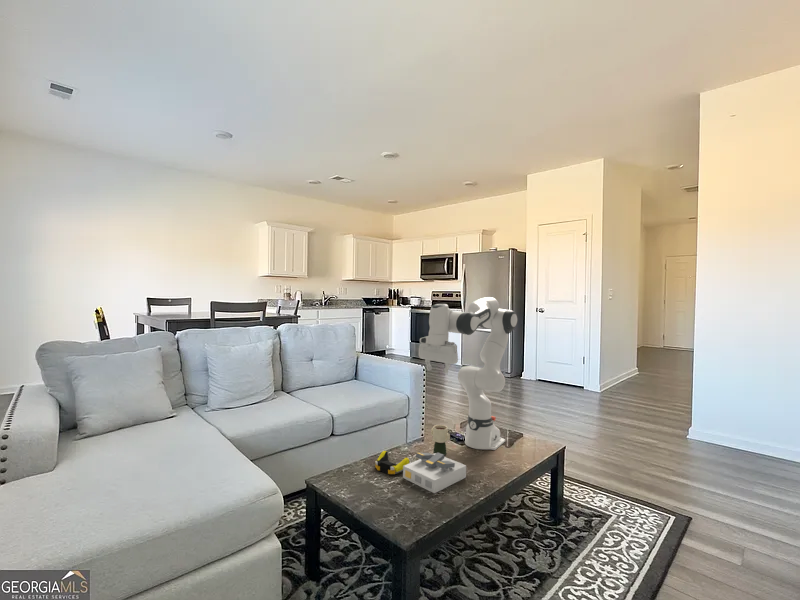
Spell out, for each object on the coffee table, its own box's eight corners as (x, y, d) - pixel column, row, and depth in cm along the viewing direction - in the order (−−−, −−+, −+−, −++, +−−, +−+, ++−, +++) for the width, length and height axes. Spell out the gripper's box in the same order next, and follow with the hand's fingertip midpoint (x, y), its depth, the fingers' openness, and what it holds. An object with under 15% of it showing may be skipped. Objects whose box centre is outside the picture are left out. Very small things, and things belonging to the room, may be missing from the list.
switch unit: (434, 464, 177) (435, 450, 177) (465, 477, 165) (466, 462, 165) (402, 478, 163) (402, 462, 163) (433, 493, 151) (434, 477, 151)
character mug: (453, 455, 187) (454, 428, 187) (444, 460, 182) (445, 431, 181) (435, 449, 194) (436, 422, 194) (426, 453, 189) (426, 426, 189)
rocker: (438, 455, 168) (437, 452, 168) (444, 458, 166) (444, 454, 165) (425, 465, 163) (425, 461, 162) (432, 468, 160) (431, 464, 160)
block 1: (427, 456, 172) (428, 452, 172) (433, 458, 169) (434, 454, 169) (415, 456, 166) (416, 452, 166) (421, 459, 164) (422, 455, 164)
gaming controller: (383, 461, 180) (369, 468, 171) (384, 449, 179) (369, 456, 171) (411, 470, 171) (397, 478, 163) (411, 457, 171) (397, 465, 163)
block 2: (447, 464, 164) (448, 460, 164) (454, 467, 161) (455, 463, 162) (435, 465, 158) (436, 461, 159) (442, 468, 156) (442, 463, 156)
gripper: (461, 342, 171) (460, 374, 171) (426, 337, 185) (425, 367, 185) (452, 343, 166) (451, 376, 166) (416, 338, 181) (415, 368, 181)
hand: (437, 371), depth 176 cm, fingers open, 8 cm apart
